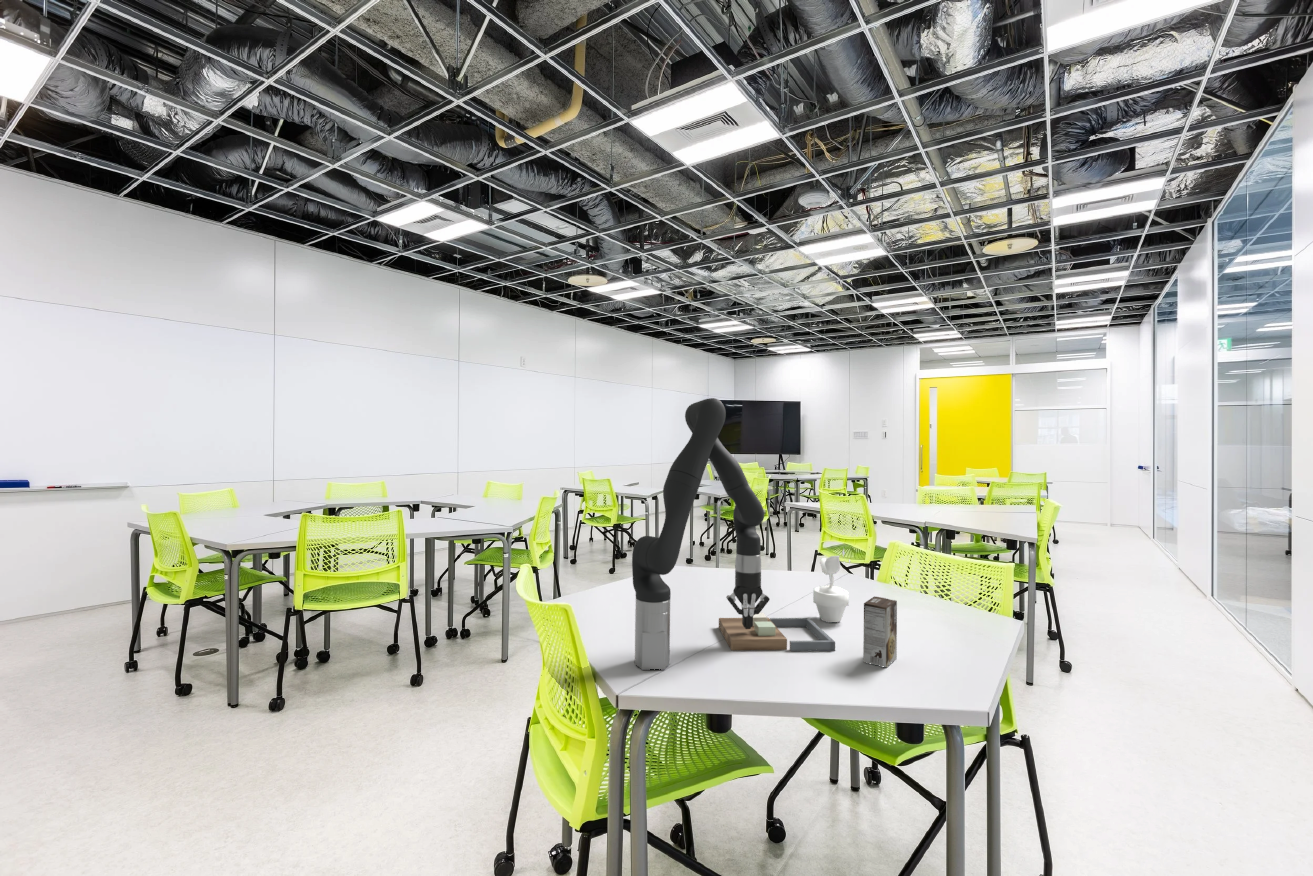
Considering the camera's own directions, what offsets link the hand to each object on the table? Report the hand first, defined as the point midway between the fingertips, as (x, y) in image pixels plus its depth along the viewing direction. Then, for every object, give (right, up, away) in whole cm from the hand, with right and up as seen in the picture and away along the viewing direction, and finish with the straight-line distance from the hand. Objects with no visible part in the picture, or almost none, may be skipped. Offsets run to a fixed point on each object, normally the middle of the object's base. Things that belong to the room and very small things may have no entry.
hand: (747, 628), depth 167 cm
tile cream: (+4, -2, +9) cm, 10 cm away
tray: (+16, -5, +5) cm, 18 cm away
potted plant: (+31, -5, +24) cm, 40 cm away
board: (+2, -4, +4) cm, 6 cm away
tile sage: (+5, -1, 0) cm, 5 cm away
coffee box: (+34, -5, -12) cm, 36 cm away
